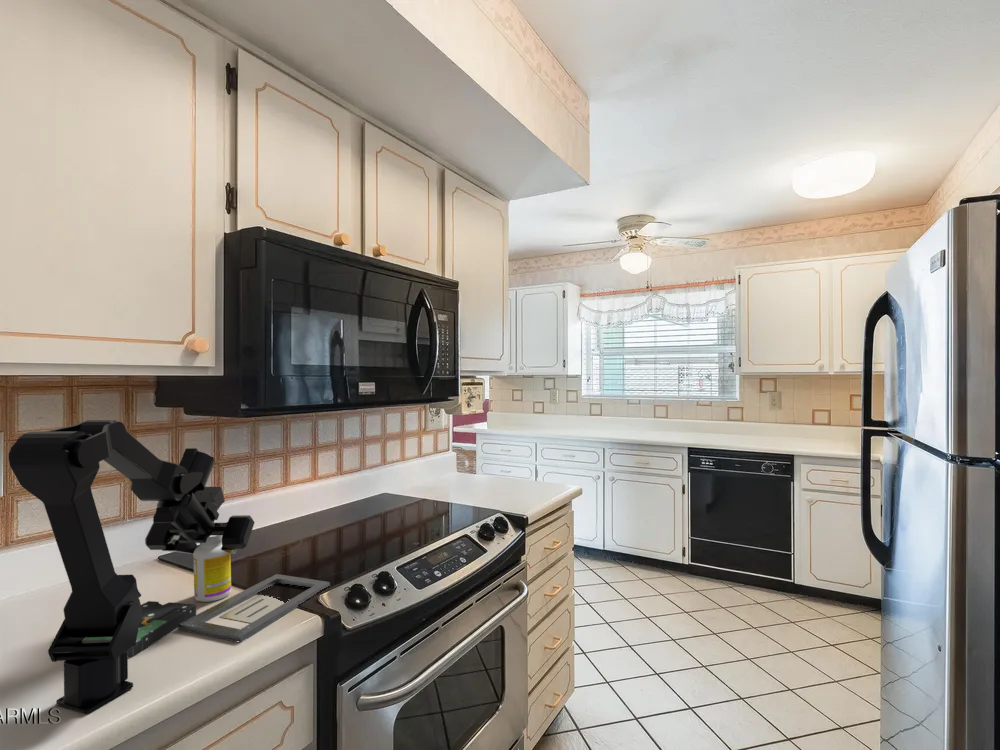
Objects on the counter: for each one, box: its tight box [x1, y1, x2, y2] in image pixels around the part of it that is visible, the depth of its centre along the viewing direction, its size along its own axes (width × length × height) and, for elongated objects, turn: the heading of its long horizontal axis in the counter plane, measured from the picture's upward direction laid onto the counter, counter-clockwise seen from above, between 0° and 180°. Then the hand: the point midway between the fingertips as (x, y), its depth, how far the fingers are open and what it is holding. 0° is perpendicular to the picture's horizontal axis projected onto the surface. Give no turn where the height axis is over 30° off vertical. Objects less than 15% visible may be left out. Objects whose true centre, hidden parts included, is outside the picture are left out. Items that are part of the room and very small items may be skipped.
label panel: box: [177, 573, 331, 643], centre depth 103 cm, size 24×14×1 cm, turn 161°
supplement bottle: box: [192, 535, 232, 603], centre depth 107 cm, size 7×7×13 cm
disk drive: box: [82, 600, 197, 658], centre depth 92 cm, size 10×3×15 cm
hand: (216, 551), depth 109 cm, fingers open, 7 cm apart
